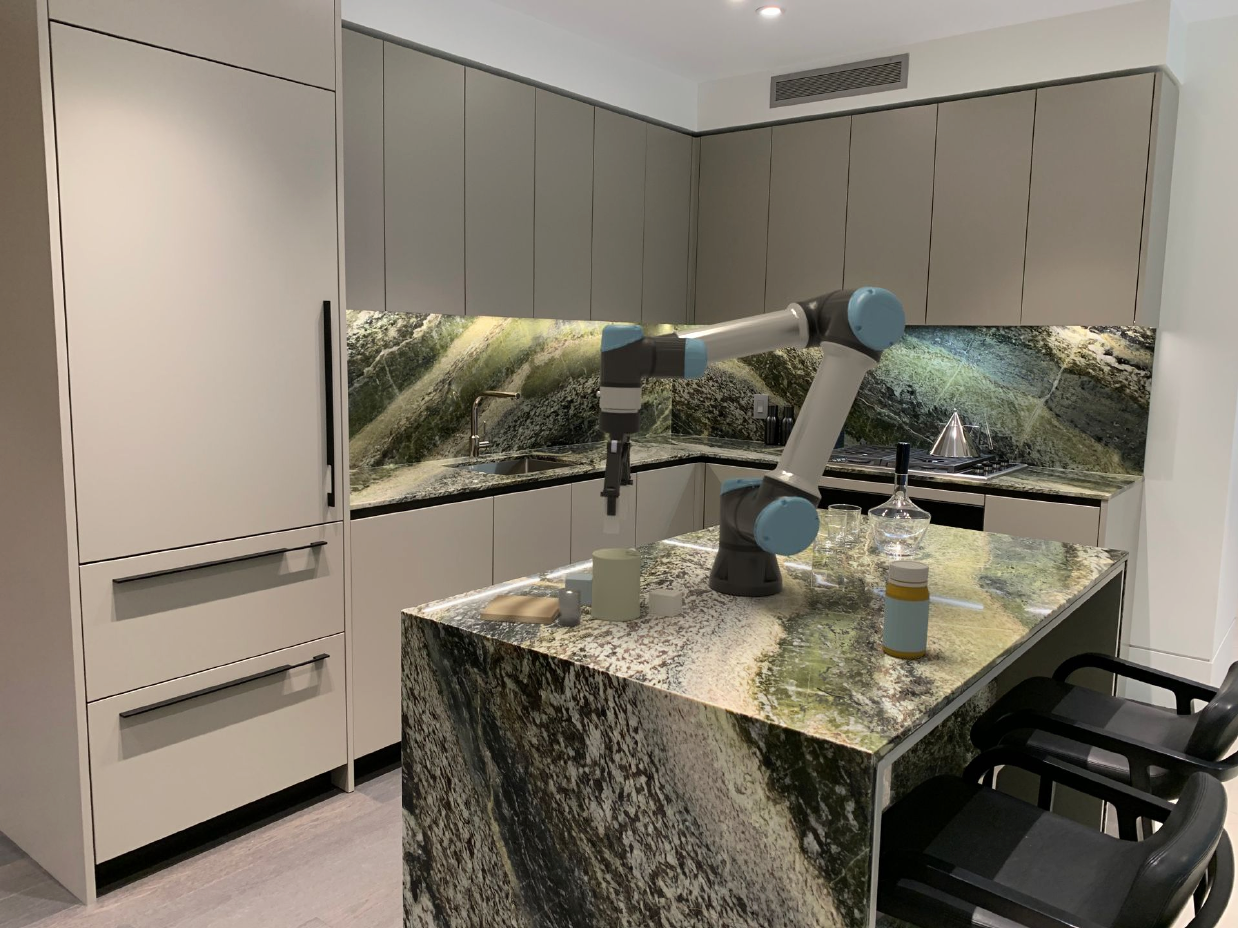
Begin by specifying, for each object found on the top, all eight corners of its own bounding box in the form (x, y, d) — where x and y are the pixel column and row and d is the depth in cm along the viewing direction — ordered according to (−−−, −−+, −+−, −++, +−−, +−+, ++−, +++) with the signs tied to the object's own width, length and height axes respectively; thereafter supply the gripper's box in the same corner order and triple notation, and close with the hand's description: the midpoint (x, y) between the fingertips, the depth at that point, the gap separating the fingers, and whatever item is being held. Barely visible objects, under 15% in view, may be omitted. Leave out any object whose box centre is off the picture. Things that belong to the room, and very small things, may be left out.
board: (564, 604, 185) (564, 598, 184) (551, 623, 172) (551, 617, 172) (498, 600, 186) (498, 594, 186) (480, 619, 173) (480, 613, 173)
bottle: (875, 646, 163) (881, 559, 161) (916, 646, 164) (921, 559, 162) (890, 659, 156) (896, 569, 154) (932, 659, 157) (938, 569, 155)
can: (635, 623, 173) (637, 558, 172) (585, 619, 175) (586, 554, 174) (644, 609, 182) (645, 547, 181) (596, 605, 184) (598, 544, 183)
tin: (582, 620, 175) (582, 587, 174) (578, 626, 171) (578, 593, 170) (560, 618, 175) (560, 586, 174) (556, 625, 171) (556, 592, 170)
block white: (681, 612, 181) (682, 591, 181) (673, 617, 178) (673, 596, 177) (657, 608, 184) (658, 588, 183) (648, 613, 180) (649, 592, 180)
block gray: (594, 598, 189) (594, 574, 189) (590, 605, 184) (590, 580, 184) (569, 597, 190) (569, 572, 189) (564, 604, 185) (565, 579, 184)
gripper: (608, 405, 187) (605, 513, 189) (588, 414, 162) (585, 538, 165) (647, 407, 186) (643, 515, 188) (632, 416, 161) (628, 540, 164)
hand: (616, 526), depth 177 cm, fingers open, 13 cm apart
